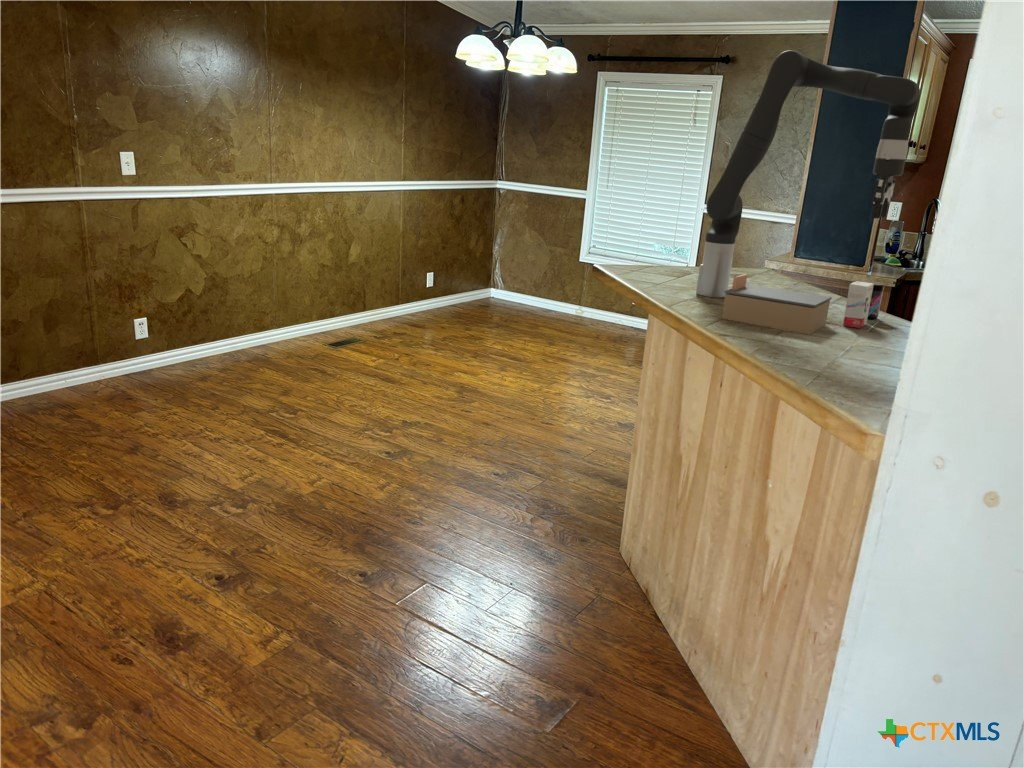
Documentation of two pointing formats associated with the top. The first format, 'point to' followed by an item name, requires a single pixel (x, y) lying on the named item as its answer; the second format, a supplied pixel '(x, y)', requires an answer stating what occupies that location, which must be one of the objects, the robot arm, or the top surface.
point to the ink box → (858, 304)
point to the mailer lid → (774, 293)
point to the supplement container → (875, 299)
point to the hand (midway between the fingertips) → (878, 217)
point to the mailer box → (775, 313)
